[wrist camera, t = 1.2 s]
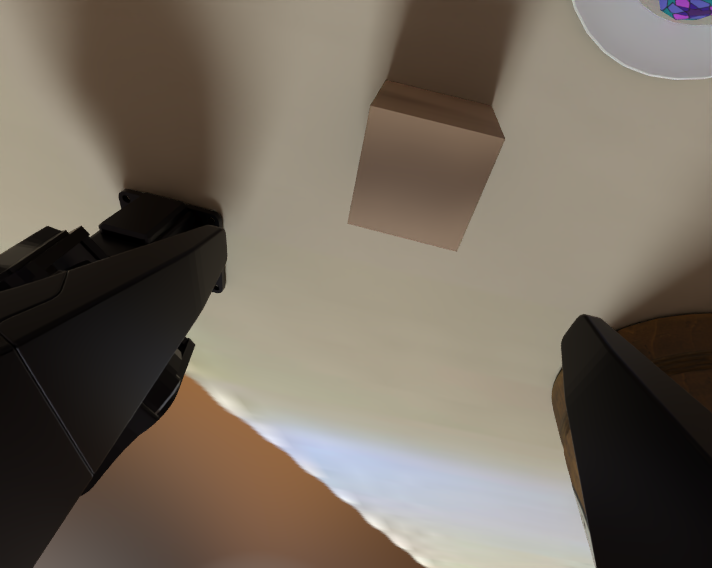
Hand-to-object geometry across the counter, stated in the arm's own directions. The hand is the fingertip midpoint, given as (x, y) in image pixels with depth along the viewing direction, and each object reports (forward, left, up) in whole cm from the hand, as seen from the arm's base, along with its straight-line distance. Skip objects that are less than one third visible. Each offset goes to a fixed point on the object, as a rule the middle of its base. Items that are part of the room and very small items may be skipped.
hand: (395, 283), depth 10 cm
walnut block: (0, 0, -12) cm, 12 cm away
